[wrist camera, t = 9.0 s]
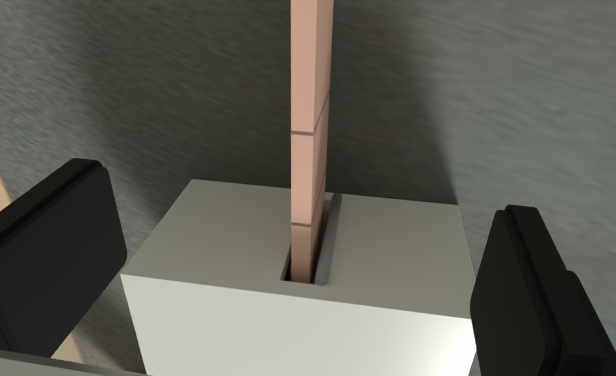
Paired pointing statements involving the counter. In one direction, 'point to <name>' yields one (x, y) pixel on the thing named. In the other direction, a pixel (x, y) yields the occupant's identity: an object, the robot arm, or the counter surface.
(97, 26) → the counter surface
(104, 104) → the counter surface
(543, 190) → the counter surface
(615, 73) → the counter surface
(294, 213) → the strip
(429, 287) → the ticket dispenser
